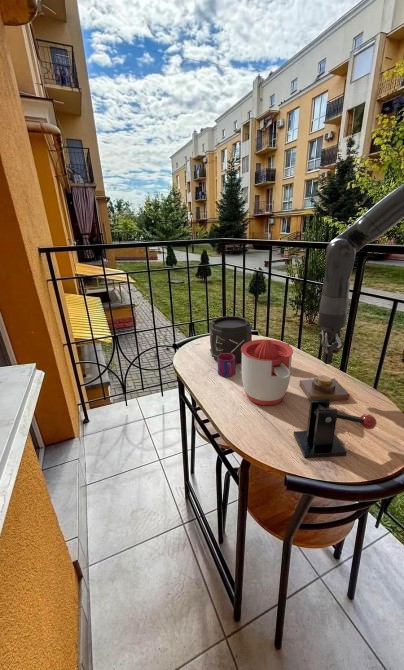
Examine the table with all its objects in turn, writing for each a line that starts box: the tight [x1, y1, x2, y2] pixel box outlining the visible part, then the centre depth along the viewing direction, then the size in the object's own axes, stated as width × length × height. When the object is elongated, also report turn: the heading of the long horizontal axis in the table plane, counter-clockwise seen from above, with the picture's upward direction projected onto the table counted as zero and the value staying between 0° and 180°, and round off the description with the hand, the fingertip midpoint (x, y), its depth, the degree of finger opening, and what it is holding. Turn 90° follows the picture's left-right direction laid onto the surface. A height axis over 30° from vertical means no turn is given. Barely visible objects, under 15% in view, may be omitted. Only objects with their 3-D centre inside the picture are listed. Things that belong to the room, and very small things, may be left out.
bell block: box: [299, 376, 350, 402], centre depth 91 cm, size 12×10×4 cm
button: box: [317, 374, 332, 386], centre depth 91 cm, size 4×4×2 cm
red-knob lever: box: [314, 404, 377, 430], centre depth 68 cm, size 15×4×4 cm, turn 91°
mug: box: [216, 353, 236, 378], centre depth 105 cm, size 7×10×7 cm
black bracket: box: [293, 399, 348, 459], centre depth 68 cm, size 10×8×12 cm
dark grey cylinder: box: [208, 315, 253, 365], centre depth 118 cm, size 18×18×16 cm
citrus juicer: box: [241, 338, 294, 406], centre depth 87 cm, size 16×17×20 cm
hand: (327, 362), depth 88 cm, fingers closed
